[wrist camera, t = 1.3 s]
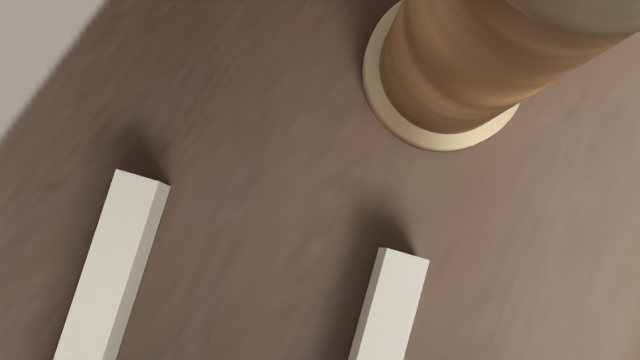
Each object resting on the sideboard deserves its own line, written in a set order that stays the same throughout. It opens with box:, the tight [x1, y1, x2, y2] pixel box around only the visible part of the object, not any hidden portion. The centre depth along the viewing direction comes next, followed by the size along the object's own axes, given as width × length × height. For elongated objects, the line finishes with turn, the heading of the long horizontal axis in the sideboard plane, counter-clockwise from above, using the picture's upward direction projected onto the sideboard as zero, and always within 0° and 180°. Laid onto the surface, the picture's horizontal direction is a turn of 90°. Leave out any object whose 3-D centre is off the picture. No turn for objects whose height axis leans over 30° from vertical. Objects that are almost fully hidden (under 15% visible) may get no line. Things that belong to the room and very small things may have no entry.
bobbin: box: [362, 0, 640, 152], centre depth 17 cm, size 6×6×13 cm
